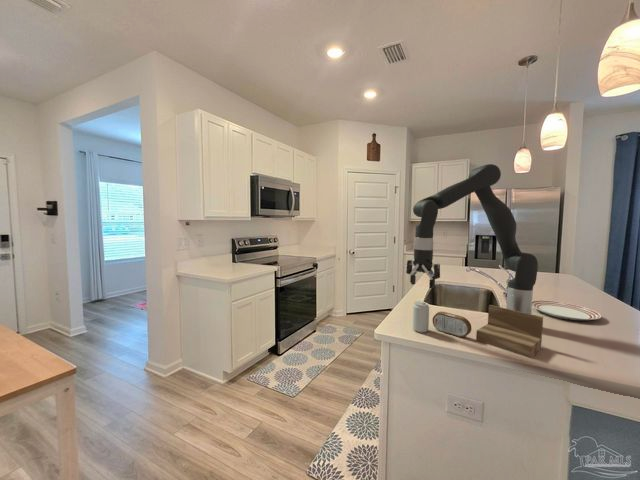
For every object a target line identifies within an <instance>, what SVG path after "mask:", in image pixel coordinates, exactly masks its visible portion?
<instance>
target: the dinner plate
mask: <svg viewBox="0 0 640 480" xmlns="http://www.w3.org/2000/svg"><path fill="white" fill-rule="evenodd" d="M532 308H534V309H536V310H538V311H539V312H541V313H543V314H545V315H548V316H550V317H554V318H557V319H562V318H563V320H568V319H570V320H569V321H591V320H600V319H601V318H602V316H603V315H602V314H600V313H599V312H598V311H596V310H593V309H591V308H588V307H584V306H581V305H577V304H572V303H567V302H563V301H556V300H550V299H549V300H548V299H536V300H532Z"/></svg>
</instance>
